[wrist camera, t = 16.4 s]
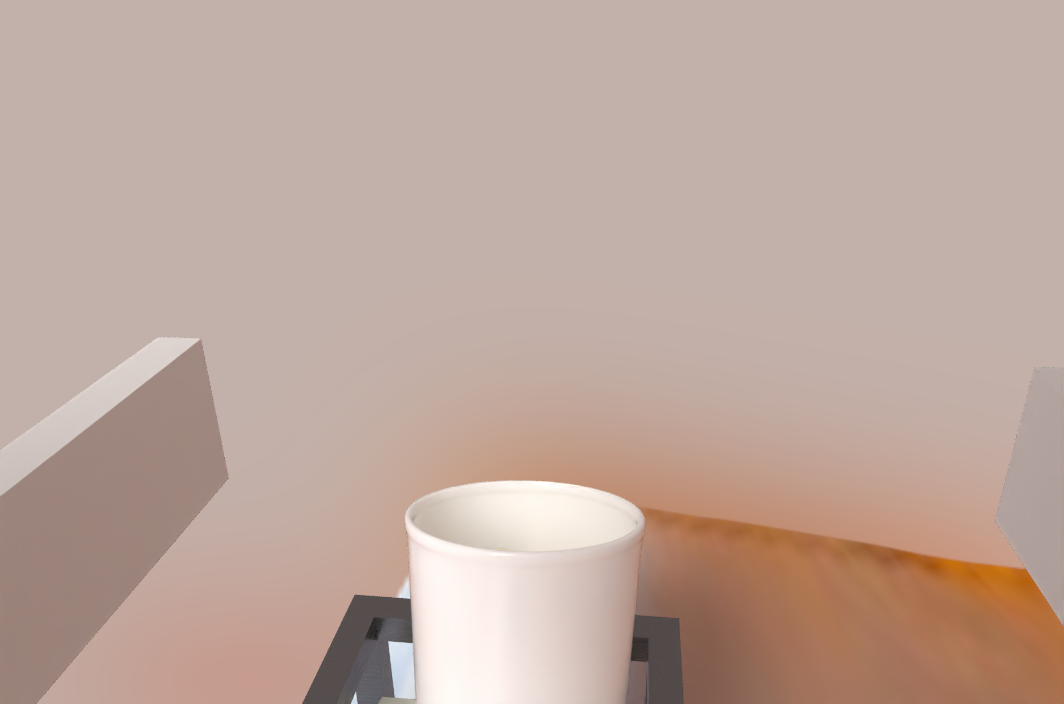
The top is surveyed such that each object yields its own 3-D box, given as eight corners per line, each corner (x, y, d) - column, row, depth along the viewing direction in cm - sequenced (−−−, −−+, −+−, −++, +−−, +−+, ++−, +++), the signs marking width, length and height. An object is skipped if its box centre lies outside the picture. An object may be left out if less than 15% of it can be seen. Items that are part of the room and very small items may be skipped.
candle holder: (438, 711, 40) (440, 474, 39) (638, 732, 39) (647, 486, 38) (369, 851, 31) (369, 542, 29) (631, 886, 29) (643, 562, 28)
